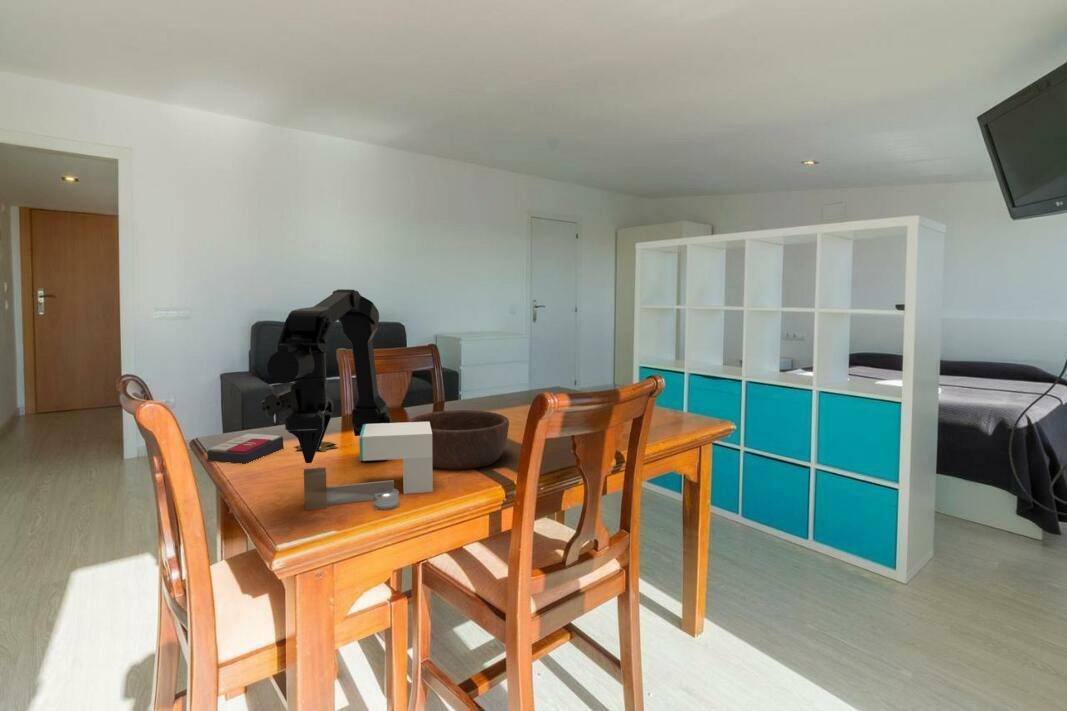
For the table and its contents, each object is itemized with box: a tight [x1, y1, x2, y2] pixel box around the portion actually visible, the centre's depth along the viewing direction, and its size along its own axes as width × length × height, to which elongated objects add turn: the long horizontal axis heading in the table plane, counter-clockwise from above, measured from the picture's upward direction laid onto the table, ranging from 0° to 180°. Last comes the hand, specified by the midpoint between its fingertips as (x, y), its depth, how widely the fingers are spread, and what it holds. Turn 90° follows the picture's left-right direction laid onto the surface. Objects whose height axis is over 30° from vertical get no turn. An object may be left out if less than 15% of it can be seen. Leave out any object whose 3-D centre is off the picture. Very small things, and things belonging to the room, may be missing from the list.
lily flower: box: [293, 441, 339, 453], centre depth 157 cm, size 12×12×5 cm
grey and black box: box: [206, 433, 285, 465], centre depth 149 cm, size 11×4×15 cm
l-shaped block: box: [358, 421, 434, 495], centre depth 126 cm, size 12×15×12 cm
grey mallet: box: [303, 466, 395, 512], centre depth 116 cm, size 4×17×7 cm, turn 111°
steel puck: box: [373, 488, 400, 511], centre depth 114 cm, size 5×5×3 cm
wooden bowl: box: [409, 409, 510, 471], centre depth 147 cm, size 25×25×10 cm
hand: (312, 456), depth 112 cm, fingers open, 9 cm apart
